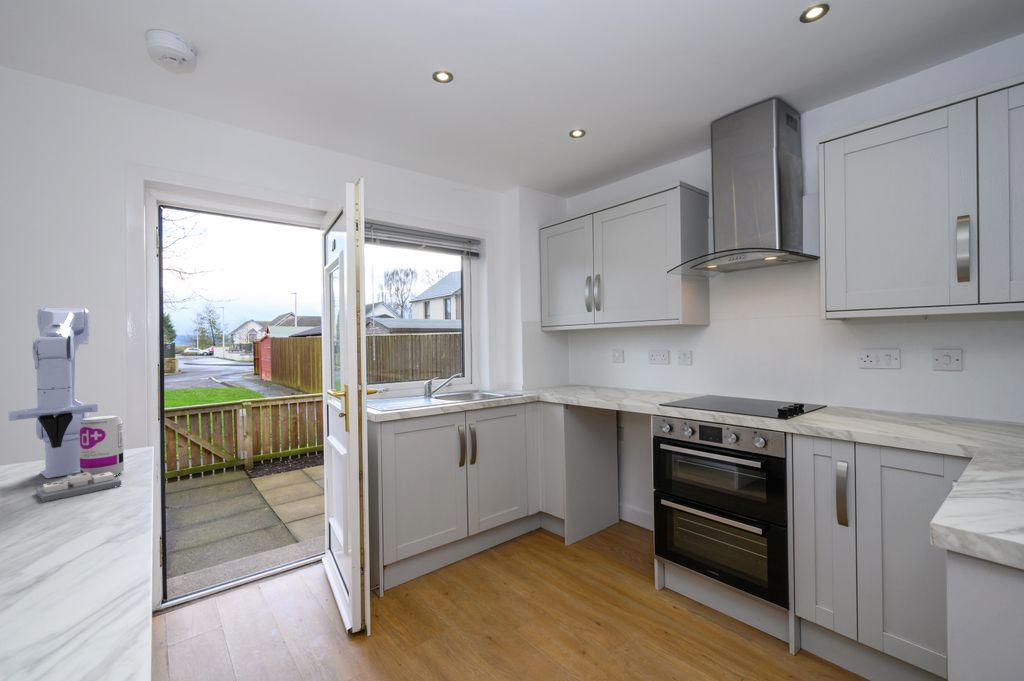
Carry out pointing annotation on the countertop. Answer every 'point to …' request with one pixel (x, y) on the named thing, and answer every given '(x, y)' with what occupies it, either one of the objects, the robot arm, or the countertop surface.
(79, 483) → the tile two
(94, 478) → the tile one
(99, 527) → the countertop surface
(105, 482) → the keypad
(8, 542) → the countertop surface
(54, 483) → the tile three
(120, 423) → the supplement can
